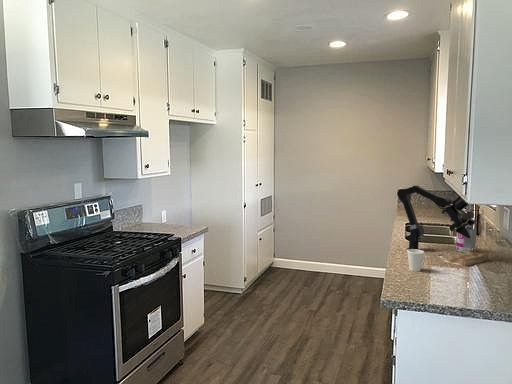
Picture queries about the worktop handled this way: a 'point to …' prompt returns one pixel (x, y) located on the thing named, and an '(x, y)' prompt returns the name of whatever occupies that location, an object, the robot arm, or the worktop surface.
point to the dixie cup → (415, 259)
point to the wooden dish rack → (466, 258)
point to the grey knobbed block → (472, 240)
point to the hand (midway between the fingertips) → (472, 237)
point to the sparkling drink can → (461, 243)
